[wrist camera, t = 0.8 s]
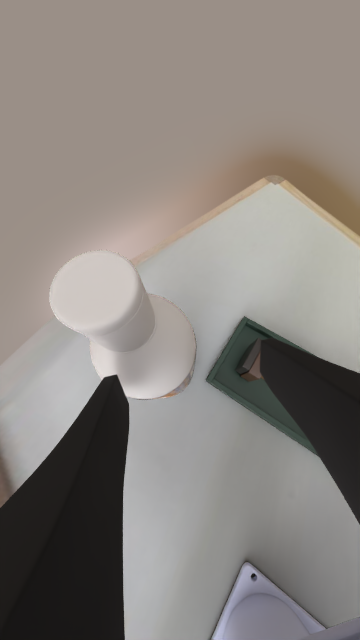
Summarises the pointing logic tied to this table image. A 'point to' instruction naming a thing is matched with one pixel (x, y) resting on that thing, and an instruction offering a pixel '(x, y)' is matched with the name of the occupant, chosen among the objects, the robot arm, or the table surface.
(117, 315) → the bath foam
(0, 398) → the table surface
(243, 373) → the brown barbell-shaped piece
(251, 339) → the brush tray
